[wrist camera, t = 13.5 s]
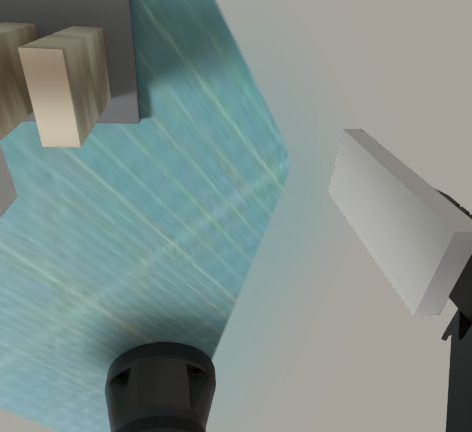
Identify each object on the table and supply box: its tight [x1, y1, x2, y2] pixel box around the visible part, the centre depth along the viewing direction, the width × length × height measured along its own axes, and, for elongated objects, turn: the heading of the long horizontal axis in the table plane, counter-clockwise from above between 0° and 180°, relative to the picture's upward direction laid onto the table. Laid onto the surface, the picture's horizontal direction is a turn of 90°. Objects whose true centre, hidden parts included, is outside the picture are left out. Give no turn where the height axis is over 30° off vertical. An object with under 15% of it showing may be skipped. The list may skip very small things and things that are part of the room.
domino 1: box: [18, 26, 111, 147], centre depth 22 cm, size 5×2×10 cm, turn 176°
